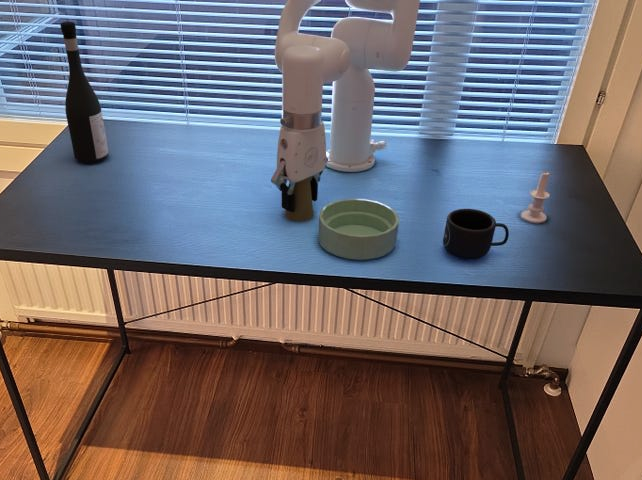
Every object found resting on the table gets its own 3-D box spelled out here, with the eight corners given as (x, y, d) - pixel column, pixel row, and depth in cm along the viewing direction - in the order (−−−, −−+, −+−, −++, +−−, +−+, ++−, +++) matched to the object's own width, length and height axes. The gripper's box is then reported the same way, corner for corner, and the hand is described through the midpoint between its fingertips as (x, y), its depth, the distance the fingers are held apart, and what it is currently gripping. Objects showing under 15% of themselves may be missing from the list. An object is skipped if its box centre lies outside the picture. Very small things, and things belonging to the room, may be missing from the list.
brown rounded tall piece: (317, 211, 141) (319, 161, 134) (308, 223, 136) (310, 173, 129) (290, 206, 142) (291, 156, 135) (280, 219, 138) (281, 168, 131)
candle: (515, 215, 140) (527, 168, 133) (532, 209, 142) (545, 163, 136) (533, 225, 137) (547, 178, 130) (551, 220, 139) (565, 172, 132)
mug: (443, 263, 125) (450, 230, 120) (438, 239, 132) (444, 206, 127) (508, 266, 124) (517, 233, 120) (499, 242, 131) (507, 209, 127)
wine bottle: (112, 152, 163) (90, 18, 144) (106, 165, 157) (82, 27, 138) (78, 152, 163) (52, 18, 143) (72, 165, 157) (43, 27, 137)
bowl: (366, 217, 139) (369, 192, 135) (411, 250, 129) (414, 224, 125) (304, 233, 133) (304, 208, 130) (345, 269, 123) (347, 243, 119)
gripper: (283, 135, 119) (283, 224, 131) (346, 111, 129) (340, 197, 140) (255, 124, 123) (256, 212, 135) (317, 101, 133) (314, 185, 144)
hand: (299, 203), depth 138 cm, fingers open, 6 cm apart
